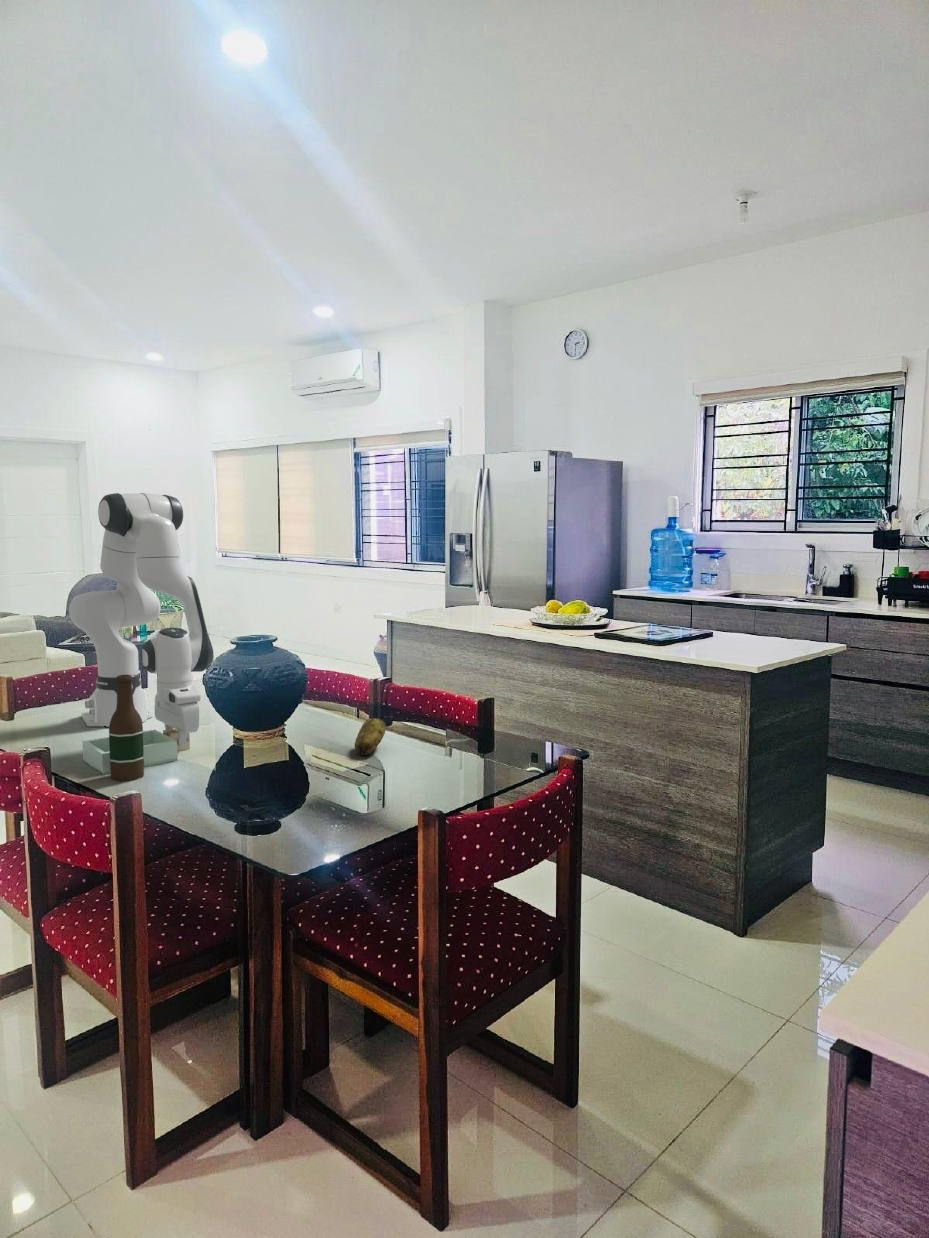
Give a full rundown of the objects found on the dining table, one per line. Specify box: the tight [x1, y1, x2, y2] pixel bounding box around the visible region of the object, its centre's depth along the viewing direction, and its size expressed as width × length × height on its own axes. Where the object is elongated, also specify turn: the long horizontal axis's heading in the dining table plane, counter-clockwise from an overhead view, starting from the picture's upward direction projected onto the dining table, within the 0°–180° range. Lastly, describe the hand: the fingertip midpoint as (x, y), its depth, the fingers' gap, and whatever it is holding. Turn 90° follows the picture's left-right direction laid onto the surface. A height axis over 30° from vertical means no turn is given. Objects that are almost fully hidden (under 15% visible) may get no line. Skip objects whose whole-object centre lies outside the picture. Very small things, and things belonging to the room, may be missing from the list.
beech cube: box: [162, 728, 191, 753], centre depth 213 cm, size 5×5×5 cm
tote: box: [82, 729, 178, 775], centre depth 202 cm, size 14×18×5 cm
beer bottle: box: [108, 675, 145, 782], centre depth 189 cm, size 8×8×24 cm
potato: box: [354, 717, 387, 756], centre depth 214 cm, size 8×13×8 cm, turn 151°
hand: (176, 742), depth 213 cm, fingers closed on beech cube, 5 cm apart
